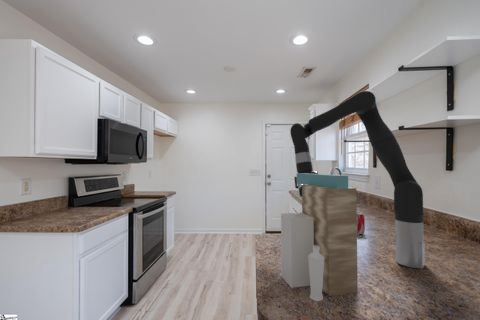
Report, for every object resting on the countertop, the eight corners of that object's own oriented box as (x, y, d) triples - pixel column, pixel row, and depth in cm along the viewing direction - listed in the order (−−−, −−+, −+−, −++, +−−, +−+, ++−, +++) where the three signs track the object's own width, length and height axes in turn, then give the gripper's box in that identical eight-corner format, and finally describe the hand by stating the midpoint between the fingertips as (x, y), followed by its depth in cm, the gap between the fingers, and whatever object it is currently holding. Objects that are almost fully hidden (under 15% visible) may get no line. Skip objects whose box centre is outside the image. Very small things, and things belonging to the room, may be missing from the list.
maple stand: (302, 272, 85) (302, 184, 86) (326, 269, 88) (325, 184, 89) (329, 296, 70) (328, 188, 71) (357, 291, 72) (356, 188, 73)
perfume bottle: (305, 293, 71) (305, 244, 71) (319, 293, 71) (319, 243, 72) (311, 302, 66) (311, 249, 67) (326, 301, 67) (325, 248, 67)
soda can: (366, 235, 132) (366, 214, 132) (353, 234, 133) (352, 213, 133) (362, 232, 139) (362, 212, 139) (349, 231, 140) (349, 211, 140)
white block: (281, 276, 82) (281, 213, 83) (301, 274, 84) (301, 212, 85) (291, 287, 74) (291, 218, 75) (313, 284, 76) (313, 217, 77)
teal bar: (296, 183, 97) (296, 173, 97) (305, 182, 98) (305, 173, 98) (337, 188, 71) (336, 175, 71) (348, 188, 72) (348, 175, 72)
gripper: (319, 159, 111) (325, 193, 107) (299, 166, 123) (304, 197, 119) (308, 158, 108) (313, 193, 104) (288, 165, 120) (292, 197, 116)
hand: (308, 195), depth 111 cm, fingers open, 8 cm apart
